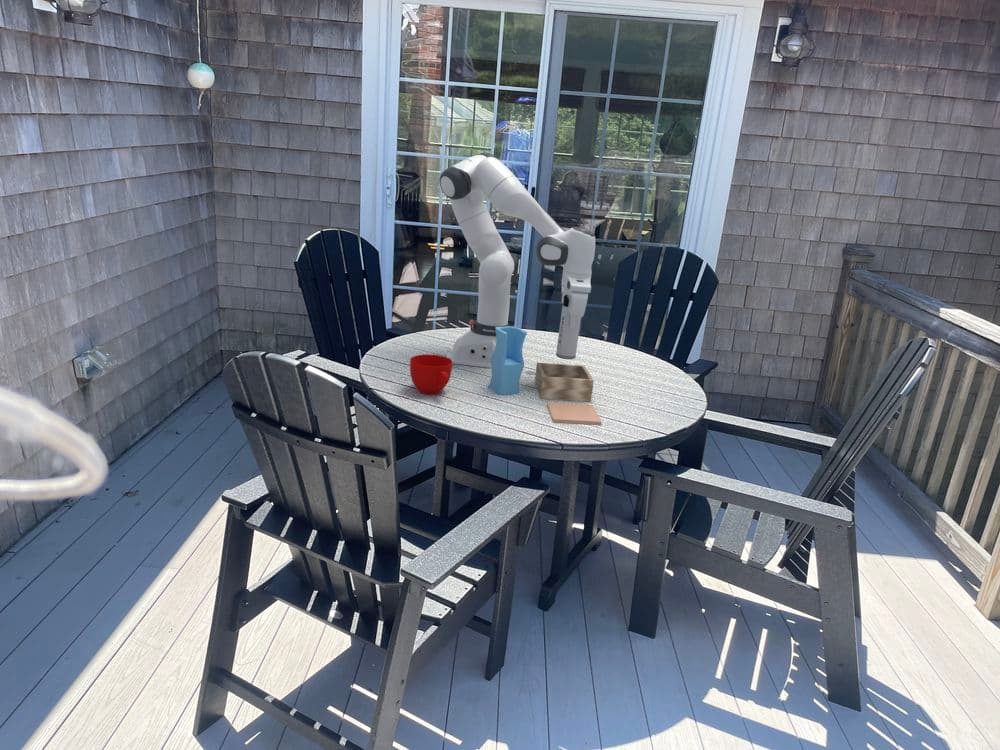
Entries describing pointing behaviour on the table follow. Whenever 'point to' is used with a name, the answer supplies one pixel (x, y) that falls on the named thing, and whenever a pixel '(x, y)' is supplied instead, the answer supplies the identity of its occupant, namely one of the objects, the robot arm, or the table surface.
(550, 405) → the terracotta tile
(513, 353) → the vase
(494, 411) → the table surface
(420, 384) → the ceramic cup
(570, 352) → the travel mug
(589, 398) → the frame
